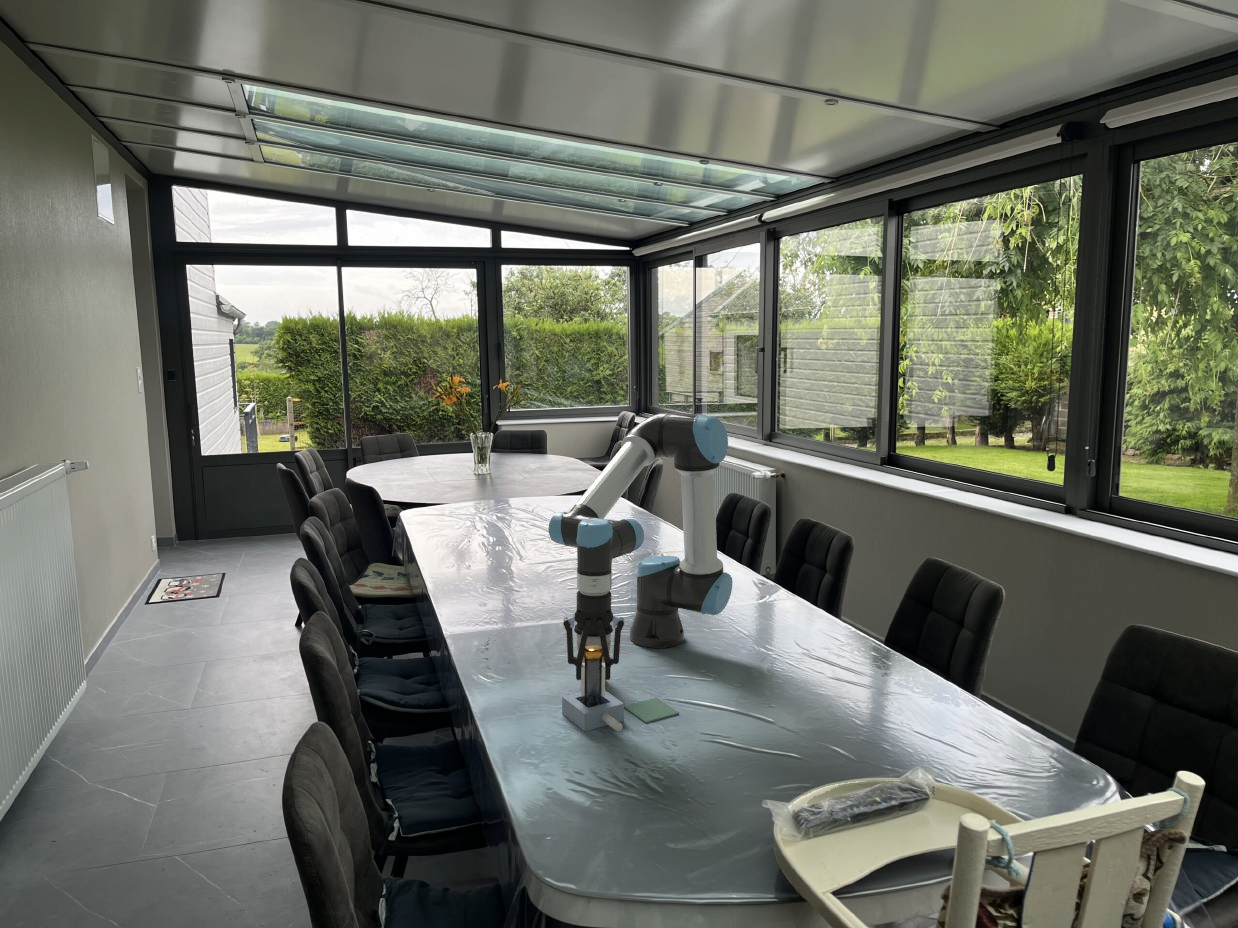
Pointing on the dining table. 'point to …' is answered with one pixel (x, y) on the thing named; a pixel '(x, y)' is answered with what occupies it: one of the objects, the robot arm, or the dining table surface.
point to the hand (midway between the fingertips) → (593, 692)
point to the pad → (651, 710)
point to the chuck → (593, 712)
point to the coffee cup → (593, 638)
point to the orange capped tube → (593, 675)
